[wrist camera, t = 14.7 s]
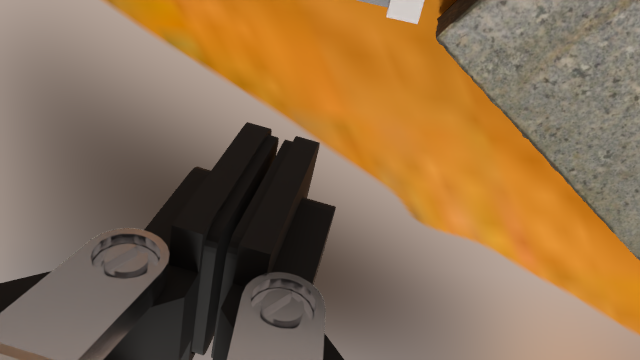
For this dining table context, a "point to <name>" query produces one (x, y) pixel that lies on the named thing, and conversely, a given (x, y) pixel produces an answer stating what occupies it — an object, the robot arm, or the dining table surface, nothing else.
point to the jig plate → (401, 9)
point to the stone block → (563, 89)
